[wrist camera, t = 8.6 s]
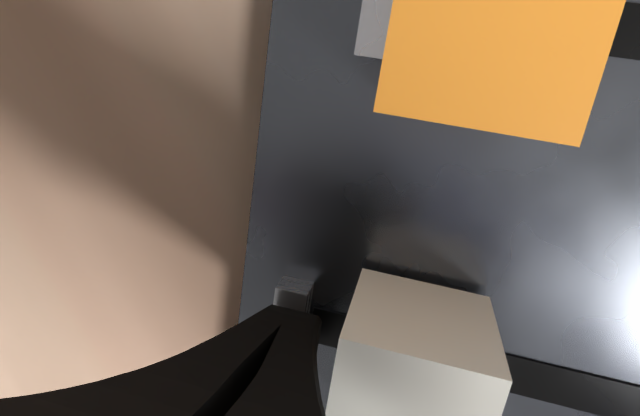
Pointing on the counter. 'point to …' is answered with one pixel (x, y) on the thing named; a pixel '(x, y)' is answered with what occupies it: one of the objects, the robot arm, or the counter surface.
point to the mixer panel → (450, 210)
